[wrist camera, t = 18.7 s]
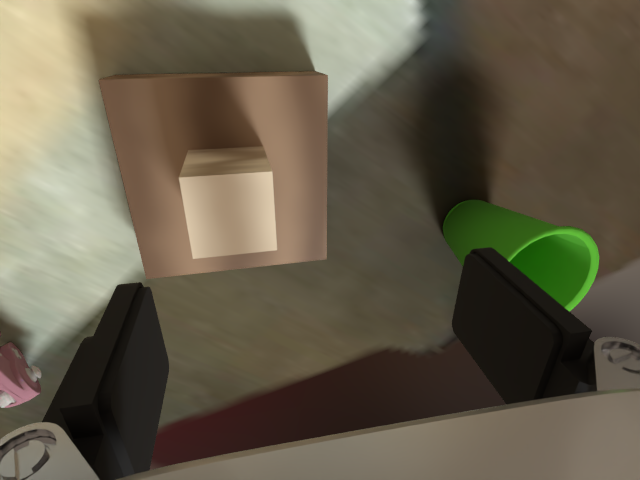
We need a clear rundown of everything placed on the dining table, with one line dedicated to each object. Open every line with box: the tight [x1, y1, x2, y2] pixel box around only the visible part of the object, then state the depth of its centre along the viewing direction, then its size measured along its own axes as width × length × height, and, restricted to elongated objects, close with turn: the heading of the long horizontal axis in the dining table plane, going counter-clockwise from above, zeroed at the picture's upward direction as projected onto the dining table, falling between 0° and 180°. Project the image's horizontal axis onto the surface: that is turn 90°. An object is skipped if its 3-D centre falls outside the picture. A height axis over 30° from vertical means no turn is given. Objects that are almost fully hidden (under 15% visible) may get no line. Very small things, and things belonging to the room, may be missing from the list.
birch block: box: [179, 146, 277, 259], centre depth 25 cm, size 5×5×6 cm
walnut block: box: [99, 71, 328, 279], centre depth 29 cm, size 14×14×4 cm
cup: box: [443, 200, 599, 312], centre depth 34 cm, size 9×9×11 cm
